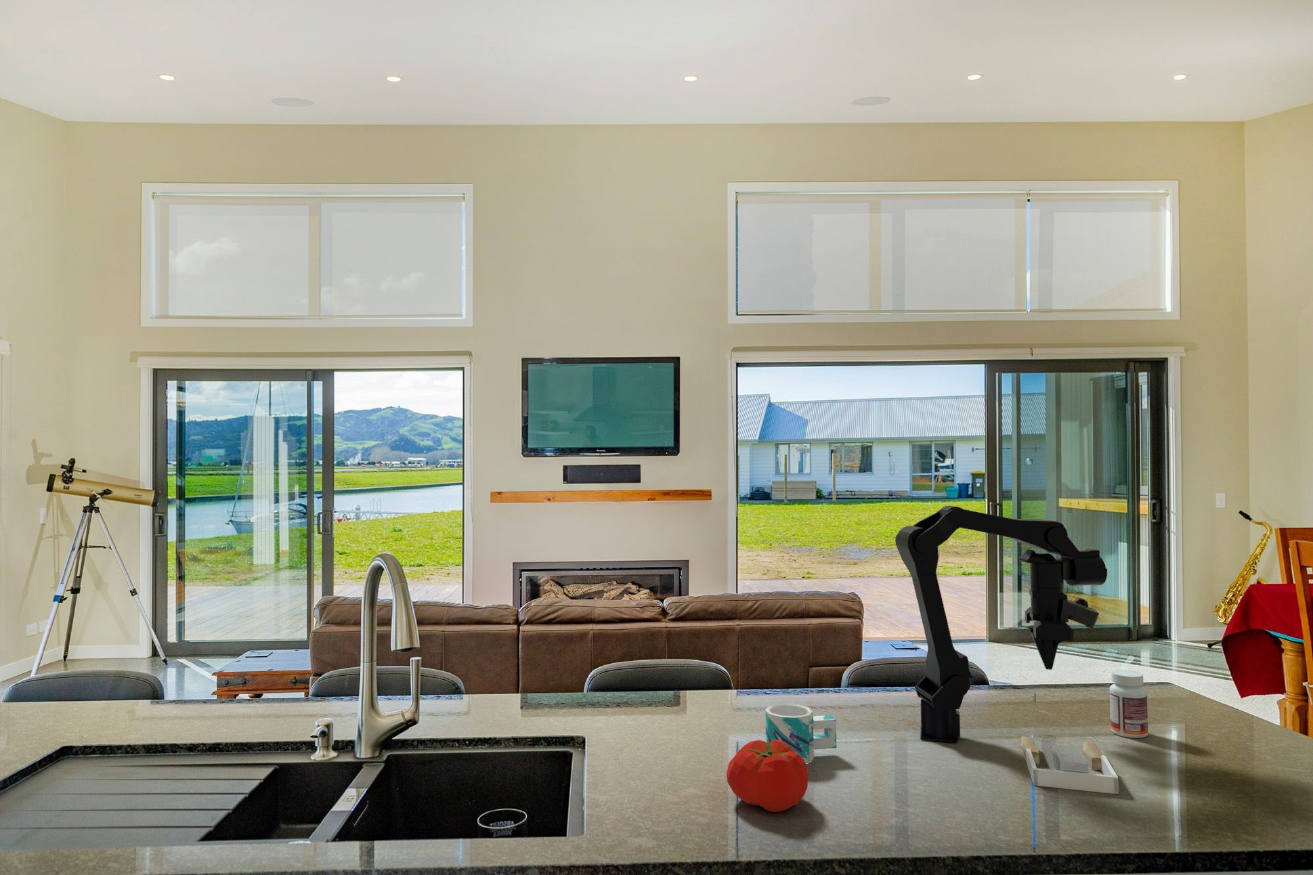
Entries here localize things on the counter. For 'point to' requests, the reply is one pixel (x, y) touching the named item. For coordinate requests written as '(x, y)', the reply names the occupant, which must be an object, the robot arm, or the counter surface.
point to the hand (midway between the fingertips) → (1048, 669)
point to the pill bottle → (1128, 704)
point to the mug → (800, 729)
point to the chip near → (1071, 763)
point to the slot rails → (1089, 751)
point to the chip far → (1064, 752)
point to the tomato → (768, 775)
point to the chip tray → (1074, 777)
